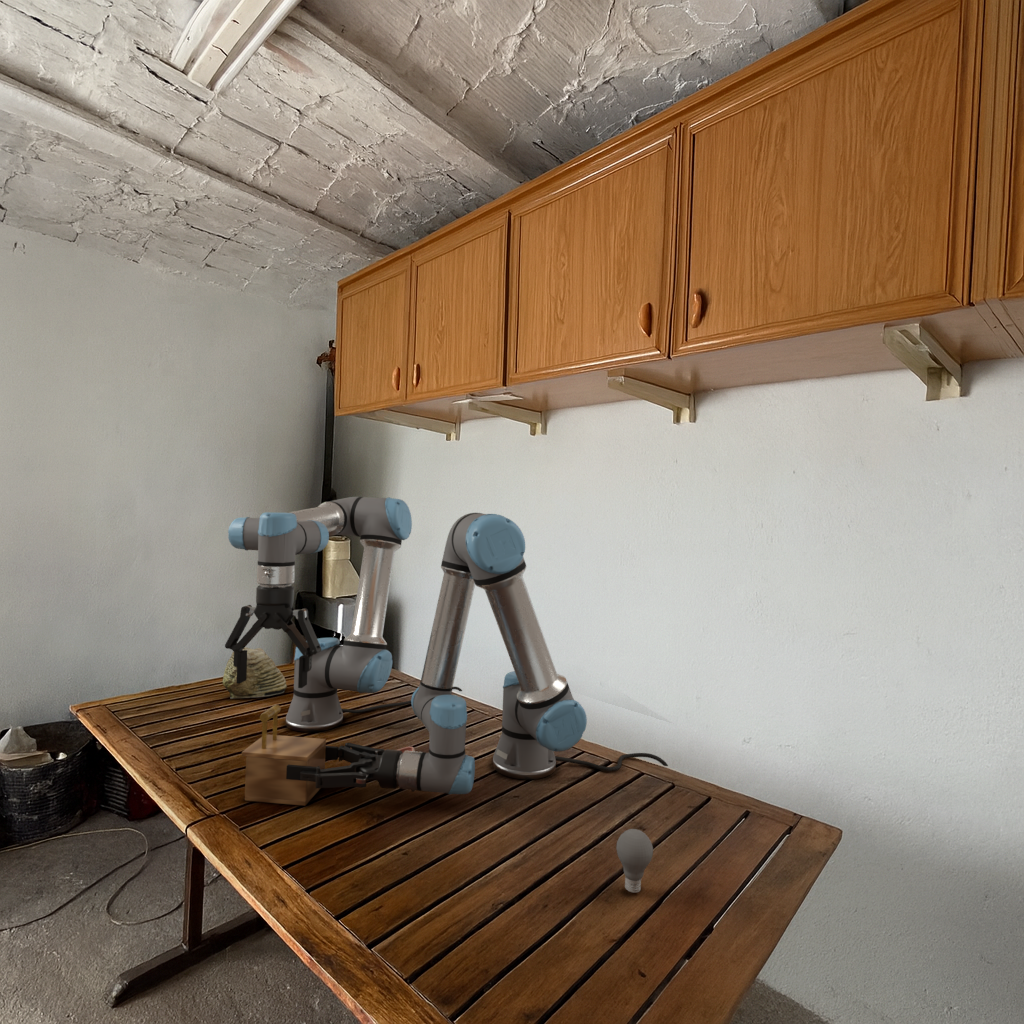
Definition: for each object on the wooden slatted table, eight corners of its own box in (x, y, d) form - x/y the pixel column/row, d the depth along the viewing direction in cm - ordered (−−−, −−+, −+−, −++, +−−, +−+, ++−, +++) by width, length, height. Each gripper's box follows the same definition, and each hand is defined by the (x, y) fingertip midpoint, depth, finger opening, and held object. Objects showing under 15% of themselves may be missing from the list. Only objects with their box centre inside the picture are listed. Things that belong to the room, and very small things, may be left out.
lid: (241, 756, 131) (242, 715, 131) (265, 737, 141) (266, 700, 141) (306, 761, 129) (308, 720, 129) (325, 742, 139) (327, 704, 139)
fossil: (218, 695, 195) (220, 647, 195) (278, 685, 208) (279, 640, 207) (228, 703, 189) (230, 653, 188) (289, 692, 201) (290, 645, 201)
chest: (244, 800, 131) (246, 756, 131) (267, 779, 141) (269, 738, 141) (305, 805, 130) (306, 761, 129) (324, 784, 140) (325, 742, 139)
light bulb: (610, 879, 108) (613, 822, 108) (644, 879, 109) (647, 822, 109) (619, 902, 102) (622, 840, 102) (655, 901, 103) (658, 840, 103)
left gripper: (209, 583, 132) (206, 684, 133) (325, 590, 130) (321, 693, 130) (229, 579, 140) (225, 675, 140) (338, 585, 137) (335, 683, 138)
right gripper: (384, 813, 122) (272, 803, 124) (413, 765, 144) (318, 757, 146) (385, 775, 121) (274, 765, 123) (414, 732, 144) (320, 724, 146)
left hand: (271, 684), depth 135 cm, fingers open, 13 cm apart
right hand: (298, 761), depth 135 cm, fingers closed on chest, 10 cm apart
